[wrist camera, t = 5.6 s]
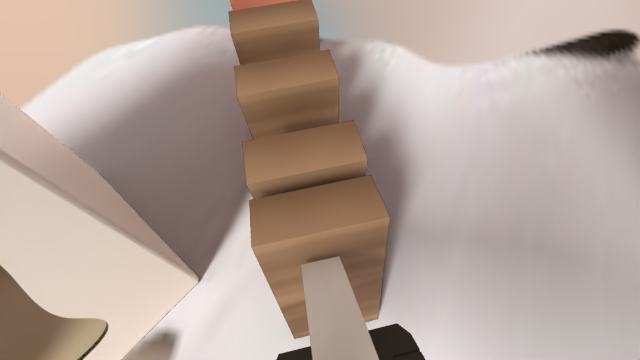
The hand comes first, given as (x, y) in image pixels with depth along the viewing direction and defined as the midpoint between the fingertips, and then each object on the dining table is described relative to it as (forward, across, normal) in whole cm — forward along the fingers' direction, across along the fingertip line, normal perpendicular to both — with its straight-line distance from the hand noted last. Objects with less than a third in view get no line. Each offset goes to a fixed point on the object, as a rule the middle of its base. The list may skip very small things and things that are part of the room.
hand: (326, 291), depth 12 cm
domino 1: (+17, 0, +5) cm, 17 cm away
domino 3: (+10, 0, -2) cm, 10 cm away
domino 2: (+13, 0, +2) cm, 13 cm away
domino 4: (+6, 0, -5) cm, 8 cm away
